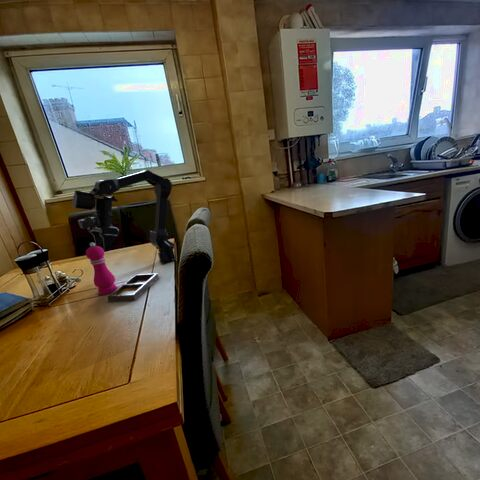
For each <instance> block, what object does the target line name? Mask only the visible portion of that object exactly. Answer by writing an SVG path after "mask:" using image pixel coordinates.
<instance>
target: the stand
mask: <svg viewBox="0 0 480 480" xmlns="http://www.w3.org/2000/svg"><path fill="white" fill-rule="evenodd" d="M158 279H160V277H159V274H158V272H155V273H140V274H134V275H133V276H132V277H130V278H129V279H127V280H126V281H125V282H124V283H122V284H121V285H120V286H119V287H116V288H117V289H116V290H115V291H113V292H112V293H109V294H107V296H106V298H107V302H109V303H114V302H130V301H136V300H137V299H138V298H139V297H140V296H142V295H143V294H144V293H145V292H146V291H147V290H148V289H149V288H150V287H151V286H152V285H153V284H154V283H155V282H156V281H157V280H158Z"/></svg>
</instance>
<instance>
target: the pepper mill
mask: <svg viewBox="0 0 480 480" xmlns="http://www.w3.org/2000/svg"><path fill="white" fill-rule="evenodd" d="M85 256H86V258H87V259H89V263H90V265H92V267H93V271H94V273H93V284H94V287H96V288H98V289H97V291H98V294H99V295H109V294H111V293H112V292H113V291H115V290H116V289H117V288H118V287H117V285H116V284H115V282H116V277H115V275H114V274H113V273H112V272H111V270H109V269H108V266H107V265H106V257H105V251H104V247H102V246H101V247H100V246H96V244H95V242H90V243H89V247H87V249H86V250H85Z"/></svg>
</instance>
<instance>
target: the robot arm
mask: <svg viewBox="0 0 480 480" xmlns="http://www.w3.org/2000/svg"><path fill="white" fill-rule="evenodd" d="M144 181H145V182H147V183H148V184H149V185H150V186H152V187H153V191H154V195H155V197H156V204H155V219H154V229H153V231H152V230H150V231H149V239H148V240H149V241H150V244H151V245H152V246H153V247H154V248H155V249H156V250H157V251H158V252H157V255H158V260H159V262H161V263H162V264H167V263H171V262H174V261H177V258H176V257H175V252H174V249H175V243H173V242H171V241H170V240H169V235H168V231H167V229H166V228H167V213H168V199H169V197H170V195H171V192H172V190H173V189H172V188H173V183H172V181H171V179H170V178H167V177H163V176H161V175H159V174H156V173H154V172H153V171H151V170H150V169H149V170H148V169H146V170H141V171H139V172H135V173H132V174H129V175H126V176H122V177H118V178H111V179H109V178H108V179H100V180H97V181H95V182H94V187H93V188H92V189H91V190H90V191H89V192H86V191H82V190H74V193H73V195H72V196H73V197H72V199H71V204H72V208H73V209H75V210H85V211H92V210H93V209H95V212H93V213H92V216H88V217H84V218H81V219H78V220H77V222H78V226H79V228H80V229H82V230H85V229H87V231H88V233H90V234H91V235H92V236H93V239H94V243H95V246H100V247H101V248H102V244H103V250H104V252H106V253H107V252H109V250H110V248H111V246H112V245H113V243H114V242H115V240H116V238H117V237H118V236H120V229H119V228H118V227H116V226H114V225H113V224H112V219H113V218H114V215H113V214H112V213H113V212H112V211H113V209H112V208H113V202H114V203H118V202H119V200H118V199H117V198H116V197H115V195H112V194H115V193H116V192H118V191H120V190H121V189H123V188H124V187H129V186H131V185H134V184H138V183H141V182H144ZM109 195H110V196H109Z"/></svg>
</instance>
